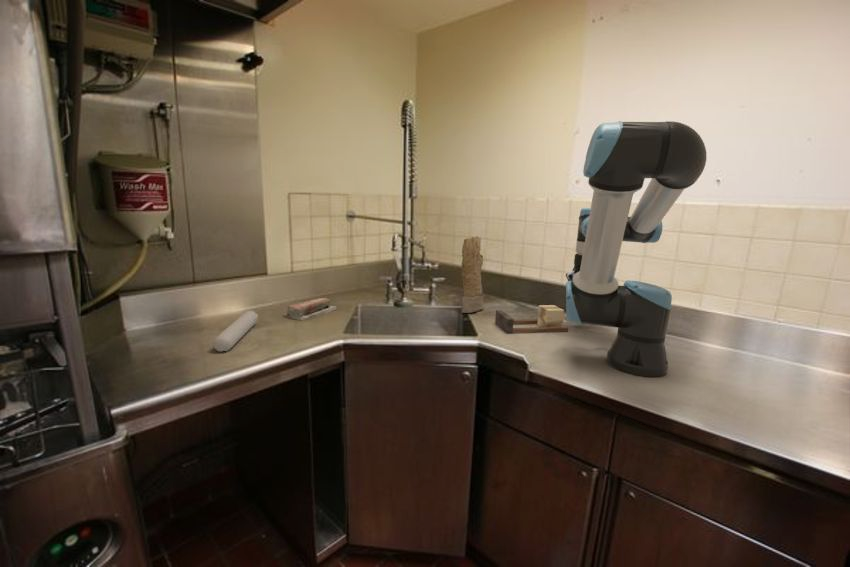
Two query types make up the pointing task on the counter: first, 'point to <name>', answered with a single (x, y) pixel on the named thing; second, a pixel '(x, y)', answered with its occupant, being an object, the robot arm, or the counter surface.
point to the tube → (235, 331)
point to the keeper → (550, 316)
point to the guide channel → (508, 322)
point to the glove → (472, 275)
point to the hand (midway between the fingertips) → (578, 320)
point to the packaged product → (309, 309)
